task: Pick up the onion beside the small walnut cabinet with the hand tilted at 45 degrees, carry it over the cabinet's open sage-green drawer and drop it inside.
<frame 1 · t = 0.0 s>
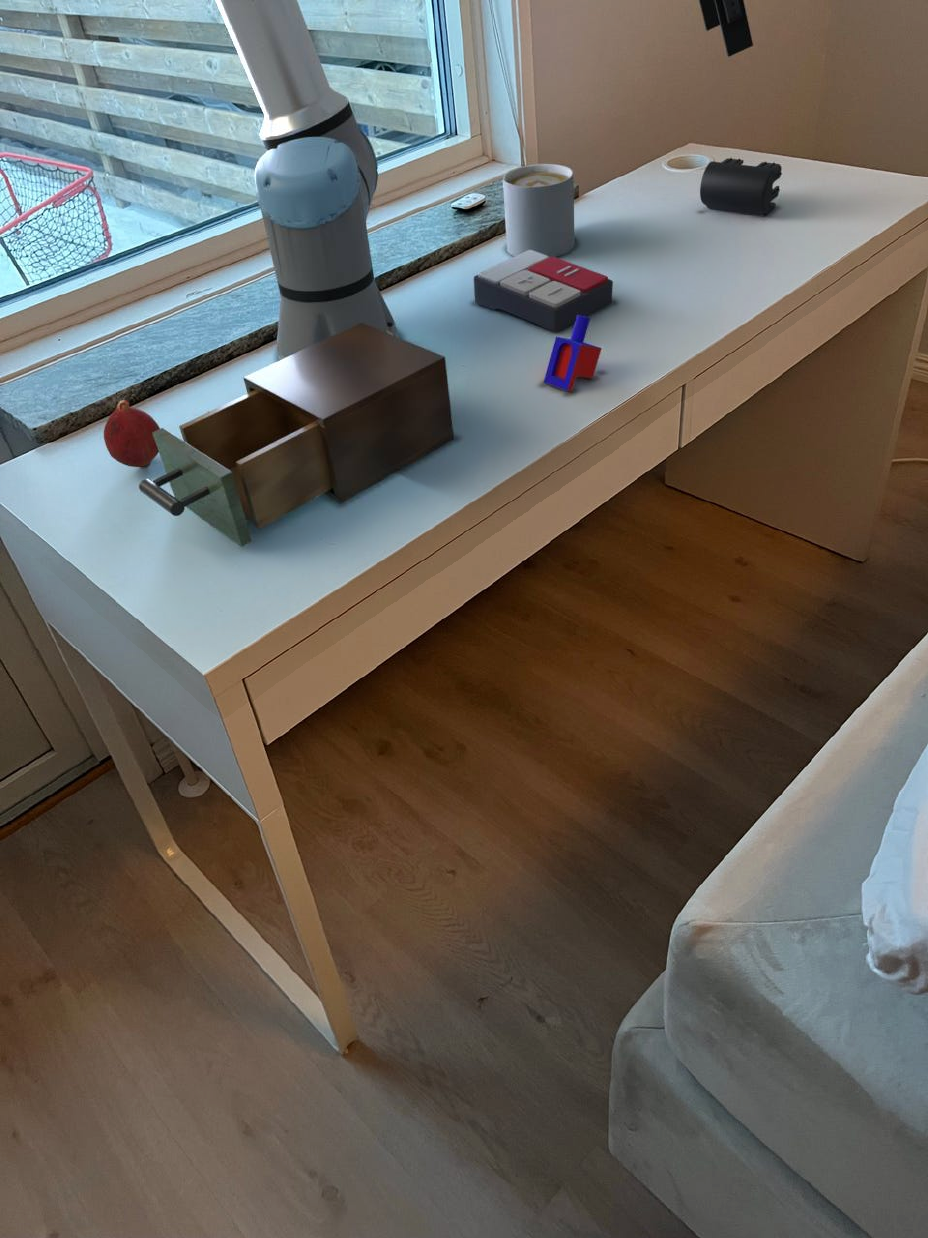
hand: (728, 37, 110), 28 cm above the table, tool tilted 20°, fingers open, 13 cm apart
cabinet: (359, 448, 104), on the table
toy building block: (573, 380, 111), on the table
end cap: (738, 212, 145), on the table
onion: (144, 468, 105), on the table
coffee mug: (547, 243, 143), on the table
drawer: (241, 465, 94), point 5 cm above the table, slide at 10.0 cm
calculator: (542, 304, 127), on the table
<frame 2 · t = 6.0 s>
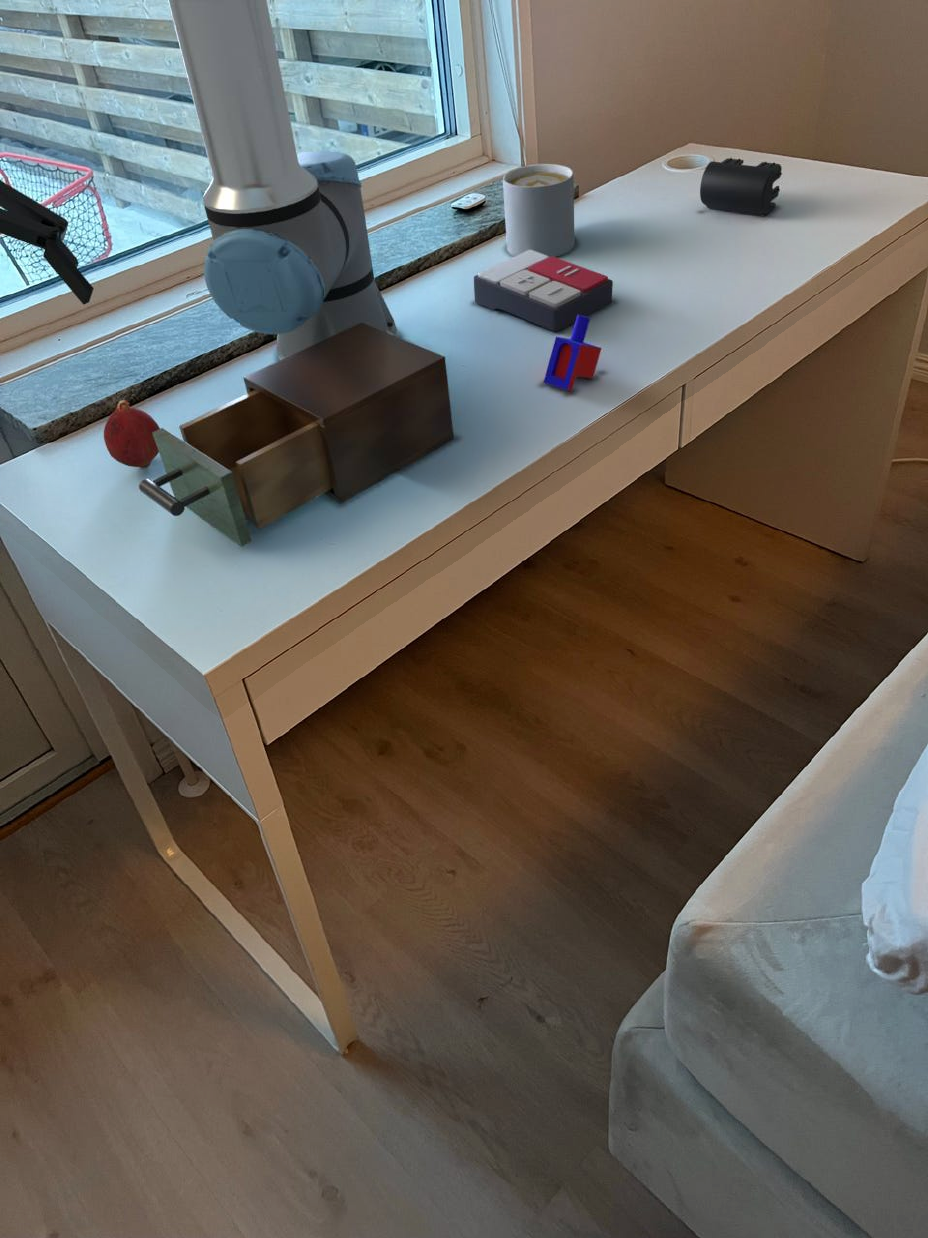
hand: (35, 321, 100), 15 cm above the table, tool tilted 45°, fingers open, 13 cm apart
nothing on the table moved.
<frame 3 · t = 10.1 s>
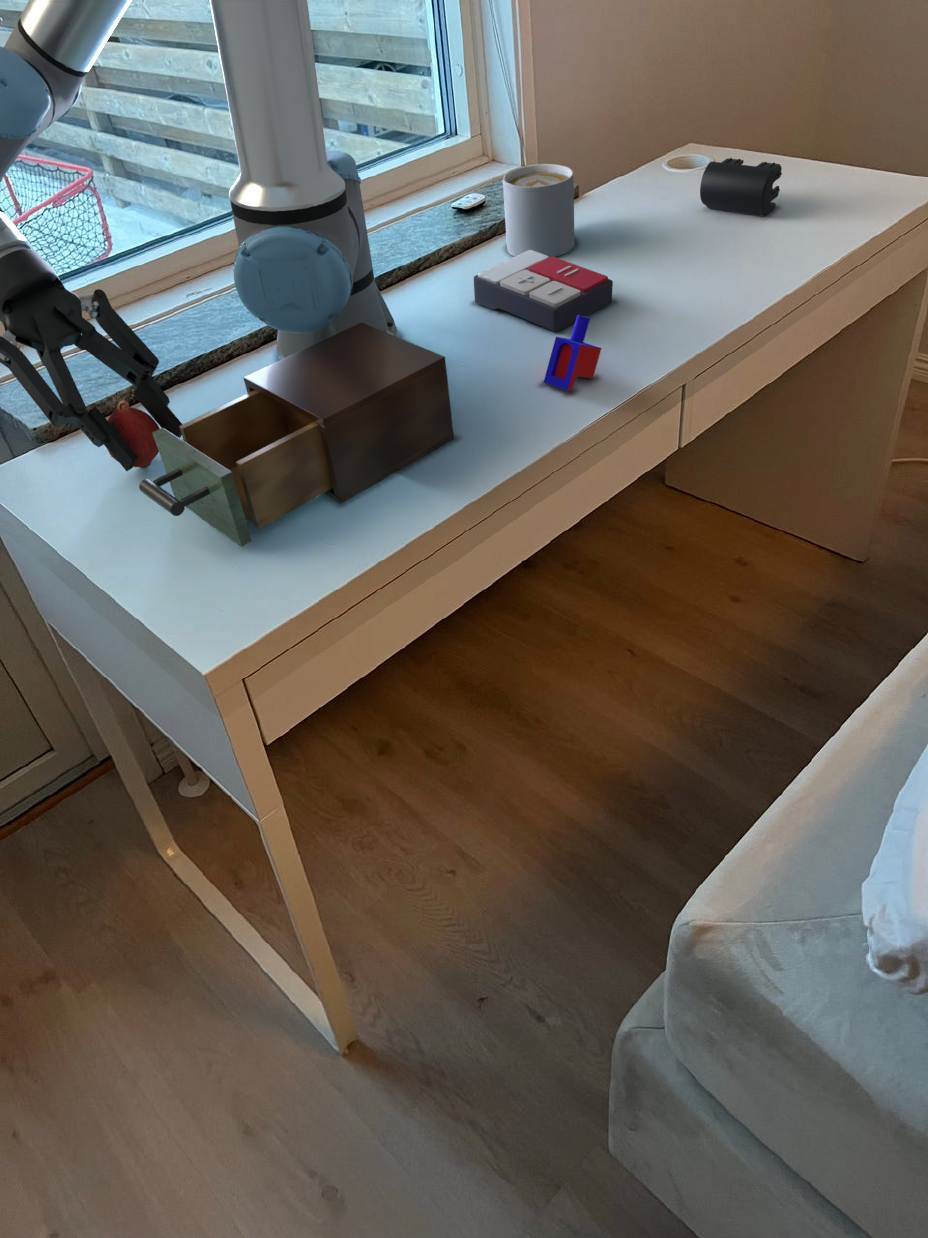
hand: (156, 449, 101), 3 cm above the table, tool tilted 45°, fingers closed on onion, 6 cm apart
onion: (144, 468, 105), on the table, touching gripper
everything else where it was.
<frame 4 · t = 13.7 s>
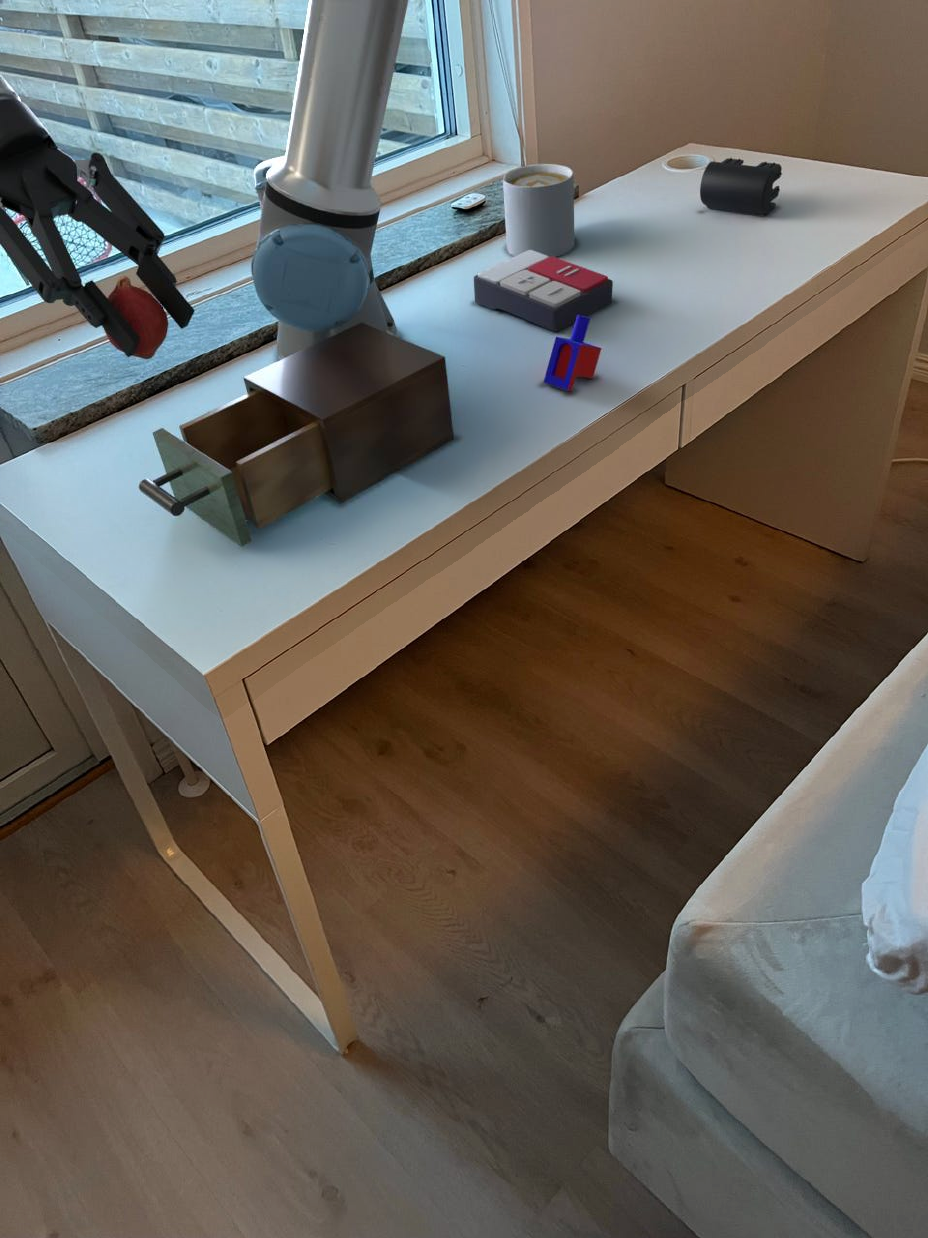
hand: (161, 333, 89), 17 cm above the table, tool tilted 45°, fingers closed on onion, 6 cm apart
onion: (148, 360, 93), point 14 cm above the table, touching gripper
everything else where it was.
when the fingers open (11 cm above the table, at t = 17.3 s): onion drops 6 cm, resting on drawer.
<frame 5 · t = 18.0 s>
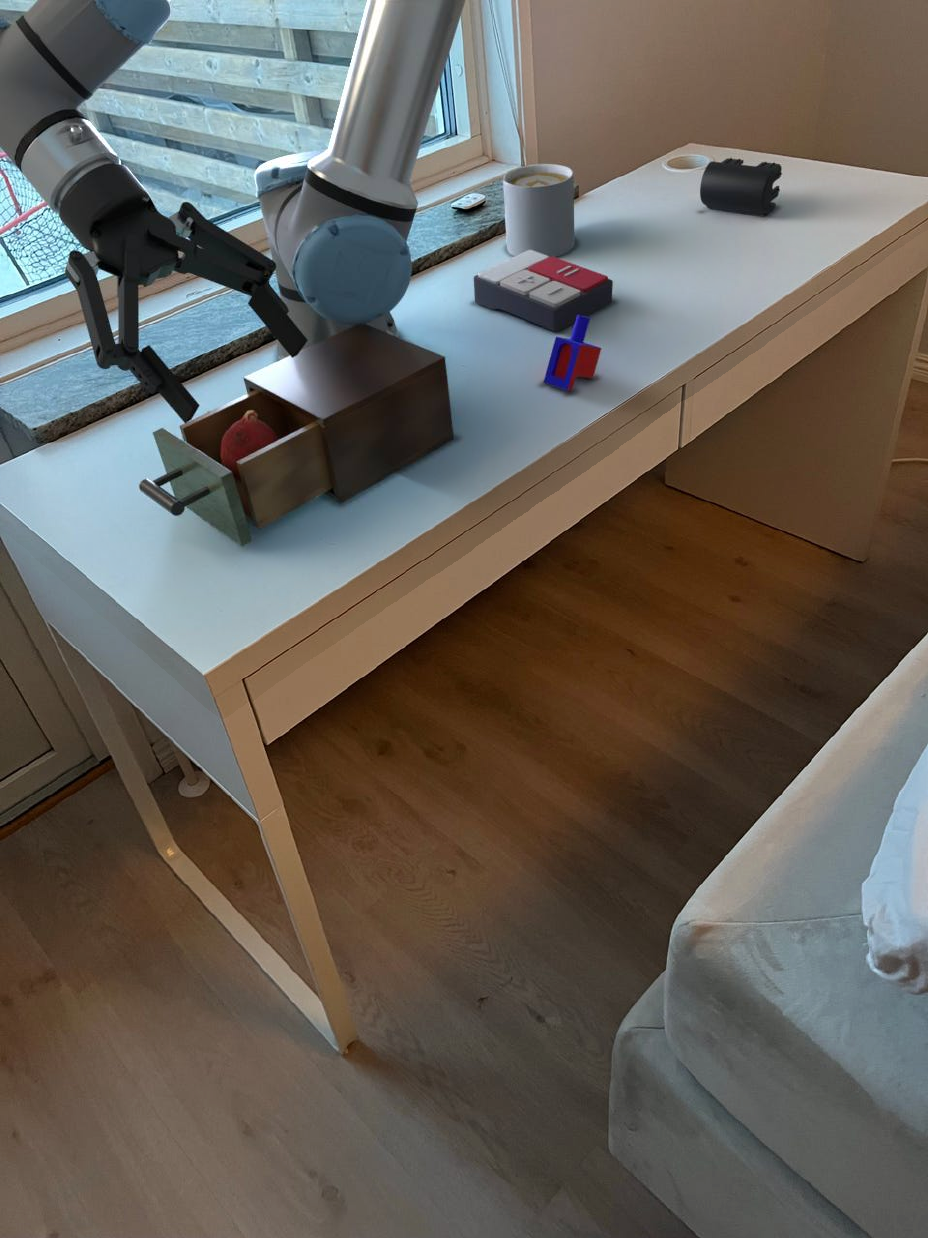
hand: (248, 380, 88), 14 cm above the table, tool tilted 45°, fingers open, 13 cm apart
onion: (253, 487, 96), point 2 cm above the table, touching drawer
drawer: (241, 465, 94), point 5 cm above the table, slide at 10.0 cm, touching onion
everything else where it was.
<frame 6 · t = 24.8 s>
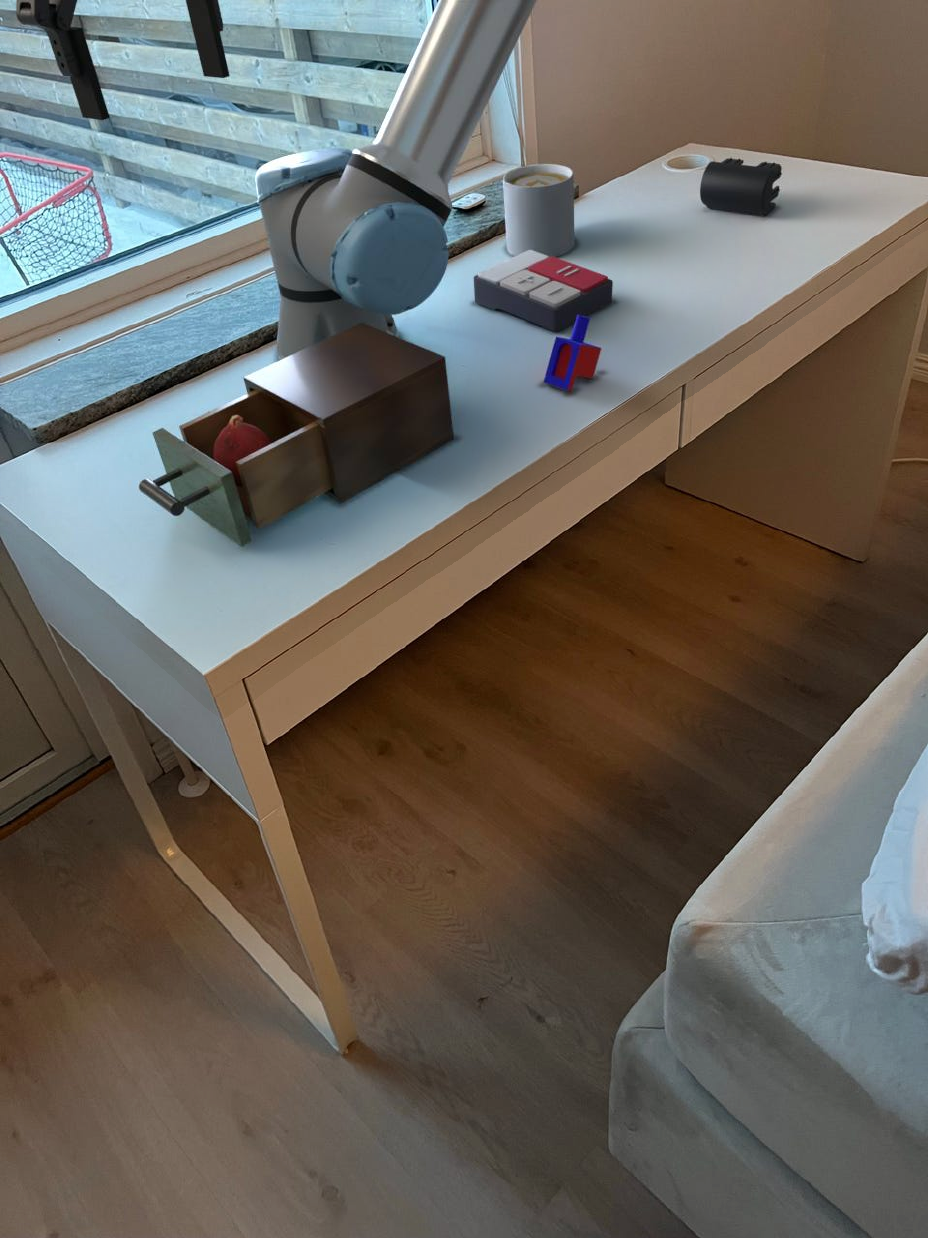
hand: (159, 96, 84), 35 cm above the table, tool pointing down, fingers open, 13 cm apart
nothing on the table moved.
at the end: onion inside the target area in the drawer (1.8 cm from its centre), point 1.8 cm above the cabinet's base; the gripper is holding nothing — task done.
